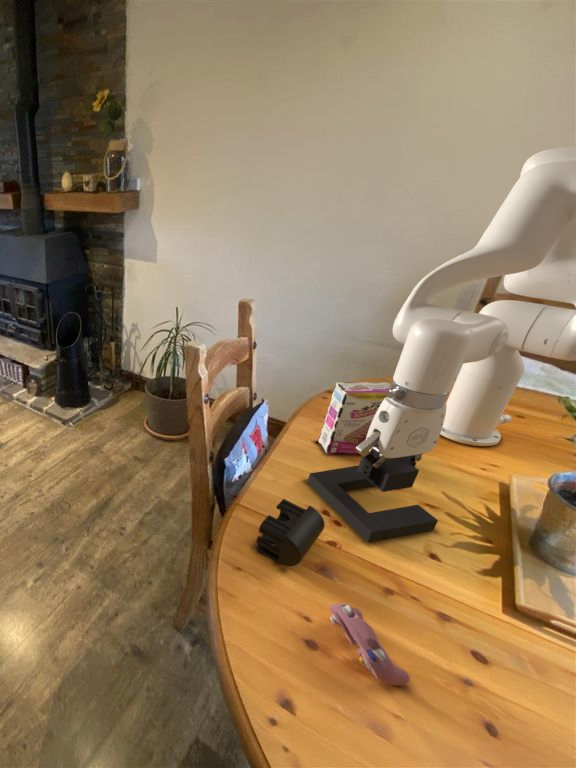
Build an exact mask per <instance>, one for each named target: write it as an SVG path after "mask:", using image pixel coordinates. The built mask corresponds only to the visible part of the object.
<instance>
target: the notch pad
mask: <svg viewBox="0 0 576 768" xmlns="http://www.w3.org/2000/svg"><path fill="white" fill-rule="evenodd" d="M358 467H359V464H358V465H352V466H346V467H339V468H333V469H326V470H321V471H315V472H310V473H309V474H308V479H307V484H308V485H309V486H311V488H312V489H313V490H314V491H315V492H316V493H318V495H319V496H320V497H321V498H322V499H323V500H325V502H326V503H327V504H328V505H330V507H331V508H333V510H334V511H336V512H337V513H338V514H339V516H340V517H342V519H344V521H346V522H347V523H348V524H349V525H350V527H352V529H353V530H354V531H356V532H357V533H358V534H359V535H360V536H361V538H363V539H364V540H365V542H367V543H370V542H376V541H382V540H389V539H393V538H399V537H406V536H411V535H416V534H422V533H427V532H432V531H434V530H435V528H436V526H437V523H438V522H439V519H438V518H436V517H435V516H433V515H432V514H431V513H430V512H429V511H427V510H426V509H424V508H423V507H422V505H421V506H420V505H419V504H413V505H406V506H402V507H401V506H400V507H395V508H389V509H384V510H379V511H373V512H369V511H367V509H365V508H364V507H363V506H362V505H361V504H360V503H359V502H357V500H355V499H354V498H353V497H352V496H351V495H350V494H349V493H347V492H349V491H356V490H361V489H366V488H367V489H368V488H373V487H376V486H375V485H372V484H371V483H370V482H368V481H367V480H366V479H365V478H364V477H362V476H361V474H360V473H359V472H358V471H357V470H358Z"/></svg>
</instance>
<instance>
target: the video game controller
mask: <svg viewBox="0 0 576 768" xmlns="http://www.w3.org/2000/svg"><path fill="white" fill-rule="evenodd" d="M328 607H329V610H330V612H331V614H332V616H331V615H330V617H329V618H330V621H331V623H332V625H334V626H335V627H336V626H337V625H338V626H339V627H340V628H341V630H342V632H343V634H344V635H345V637H346V638H347V640H348V641H349V643H350V644H351V645H352V646H355V645H357V646H358V647H359V648H358V650H357V654H358V656H359V658H358V660H359V662H360V663H361V664H362V665H365V667H366V668H367V669H368V670H369V671H370V672H371V673H372V674H373V675H374V677H375V678H376V679H377V680H381V681H383V682H384V683H386V684H389V685H392V686H398V687H399V686H405V685H406V684H408V683H409V681H410V679H411V678H410V675H409V673H408V672H407V671H406V670H404V669H403V668H401V667H398V666H397V665H395V663H394V662H393V661H392V659H391V657H390V656H389V654H388V653H387V651H386V650H385V648H384V647H383V645H382V644H381V643H380V641H379V639H378V637H377V634H376V632H375V630H374V629H373V628H372V626H371V625H369V624H368V623H367V622H366V621H365V620H364V619H363V618H364V617H363V616H364V615H363V613H362V611H361V610H360V609H358V608H356V607H354V606H351V605H350V604H348V603H346V602H345V603H344V602H342V603H341V602H340V603H337V604H336V603H335V604H331V605H330V606H328Z"/></svg>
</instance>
